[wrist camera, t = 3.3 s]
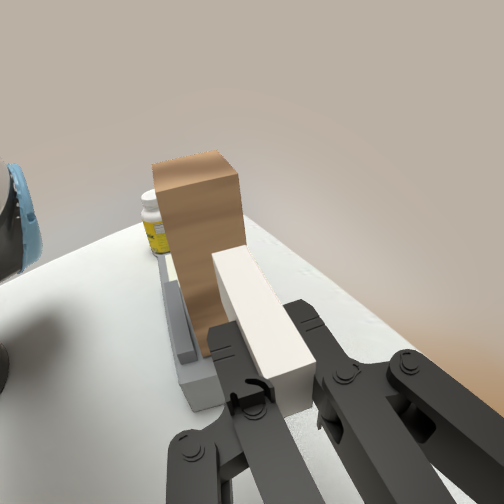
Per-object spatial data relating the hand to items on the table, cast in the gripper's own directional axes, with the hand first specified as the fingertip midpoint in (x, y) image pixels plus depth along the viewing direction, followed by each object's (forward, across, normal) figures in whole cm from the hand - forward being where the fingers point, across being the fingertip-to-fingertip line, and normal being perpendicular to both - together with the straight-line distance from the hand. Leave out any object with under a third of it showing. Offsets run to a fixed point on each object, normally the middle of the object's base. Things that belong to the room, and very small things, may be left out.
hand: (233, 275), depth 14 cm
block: (+10, 0, -13) cm, 16 cm away
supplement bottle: (+34, -4, -18) cm, 39 cm away
